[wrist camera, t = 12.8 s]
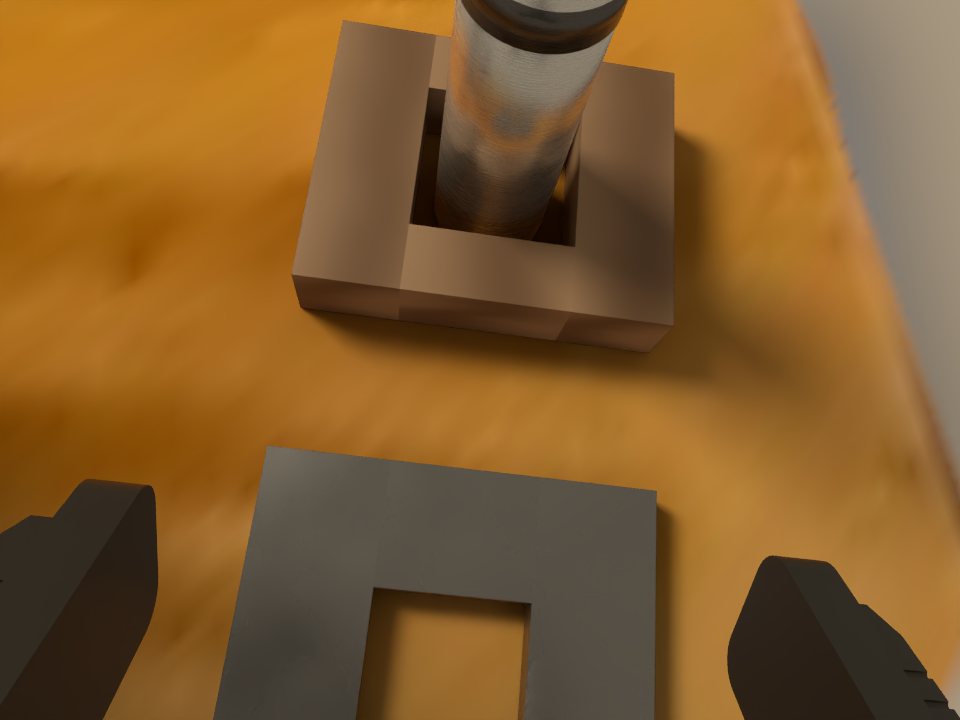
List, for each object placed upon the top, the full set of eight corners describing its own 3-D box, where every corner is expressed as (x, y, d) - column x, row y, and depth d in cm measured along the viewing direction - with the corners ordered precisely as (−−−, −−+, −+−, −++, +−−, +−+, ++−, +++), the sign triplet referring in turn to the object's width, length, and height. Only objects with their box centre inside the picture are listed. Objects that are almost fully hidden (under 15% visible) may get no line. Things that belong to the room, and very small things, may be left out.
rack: (300, 307, 25) (291, 274, 23) (346, 70, 28) (343, 20, 26) (648, 353, 26) (674, 325, 23) (651, 117, 29) (674, 73, 27)
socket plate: (183, 911, 19) (172, 926, 18) (272, 452, 23) (267, 445, 22) (639, 942, 20) (651, 958, 19) (646, 496, 24) (656, 490, 23)
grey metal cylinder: (426, 248, 26) (454, -35, 15) (439, 151, 28) (474, -173, 16) (540, 264, 27) (652, -2, 15) (547, 167, 28) (653, -141, 17)
